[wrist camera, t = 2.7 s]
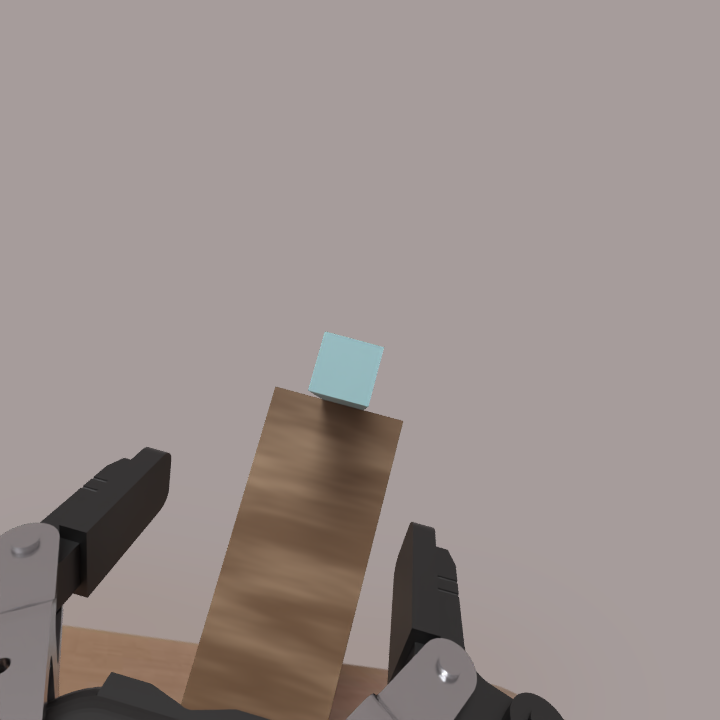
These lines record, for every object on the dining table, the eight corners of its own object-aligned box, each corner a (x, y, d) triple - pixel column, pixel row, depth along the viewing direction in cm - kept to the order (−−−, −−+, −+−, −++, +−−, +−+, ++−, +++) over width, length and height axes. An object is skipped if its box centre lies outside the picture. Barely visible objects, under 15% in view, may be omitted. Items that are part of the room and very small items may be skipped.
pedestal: (217, 697, 43) (303, 397, 48) (310, 725, 43) (388, 420, 47) (135, 858, 27) (275, 386, 32) (281, 904, 27) (403, 421, 31)
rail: (332, 405, 47) (339, 378, 48) (359, 412, 47) (367, 385, 48) (308, 390, 22) (324, 331, 22) (368, 406, 21) (384, 347, 22)
